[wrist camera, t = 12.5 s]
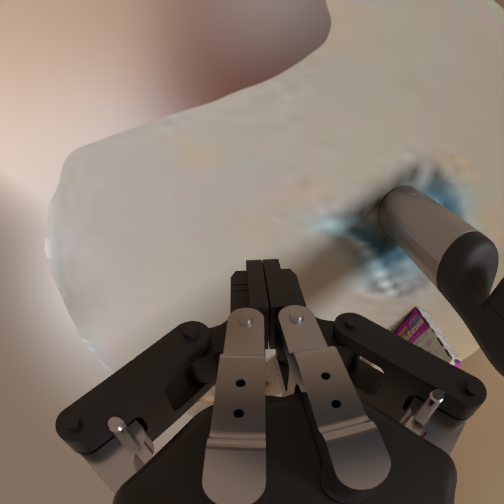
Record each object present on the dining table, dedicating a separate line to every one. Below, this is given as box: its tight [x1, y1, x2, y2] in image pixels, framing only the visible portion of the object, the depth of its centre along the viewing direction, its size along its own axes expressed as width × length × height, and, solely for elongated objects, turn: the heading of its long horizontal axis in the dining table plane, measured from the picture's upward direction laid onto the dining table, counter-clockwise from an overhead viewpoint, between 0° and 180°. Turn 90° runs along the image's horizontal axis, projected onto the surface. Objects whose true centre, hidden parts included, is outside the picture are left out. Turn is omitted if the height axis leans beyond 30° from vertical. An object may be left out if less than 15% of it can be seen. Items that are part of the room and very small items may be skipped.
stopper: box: [198, 383, 270, 401], centre depth 61 cm, size 20×2×4 cm, turn 91°
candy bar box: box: [394, 307, 462, 367], centre depth 50 cm, size 11×5×16 cm, turn 155°
